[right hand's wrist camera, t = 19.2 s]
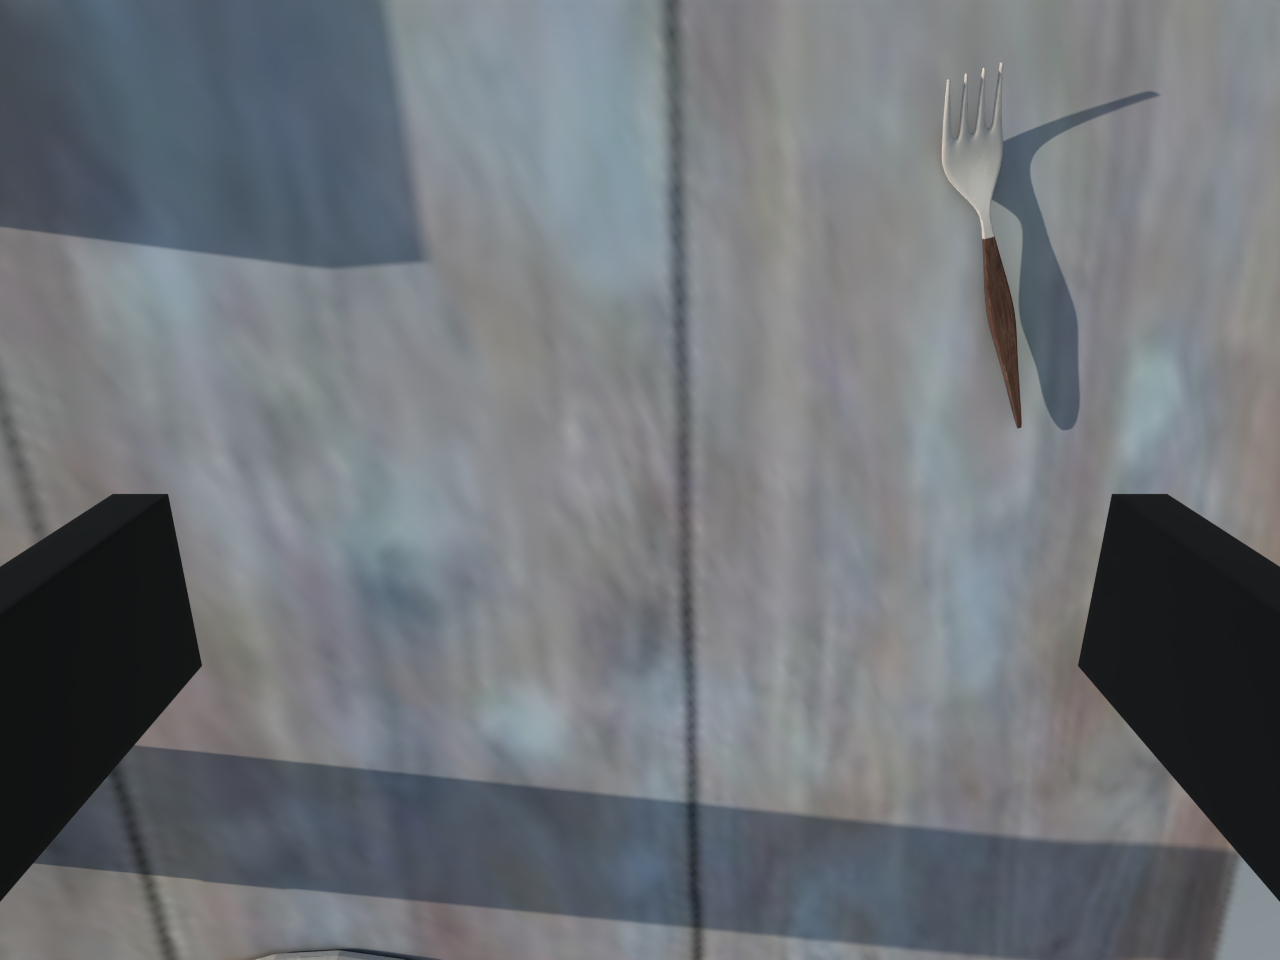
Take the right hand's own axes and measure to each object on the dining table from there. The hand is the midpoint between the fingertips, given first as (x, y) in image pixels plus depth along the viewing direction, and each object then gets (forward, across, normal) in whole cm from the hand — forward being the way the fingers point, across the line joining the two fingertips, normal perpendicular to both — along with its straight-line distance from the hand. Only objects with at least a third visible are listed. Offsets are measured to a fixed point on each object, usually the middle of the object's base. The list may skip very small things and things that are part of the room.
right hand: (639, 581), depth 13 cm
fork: (+29, +16, +1) cm, 33 cm away
